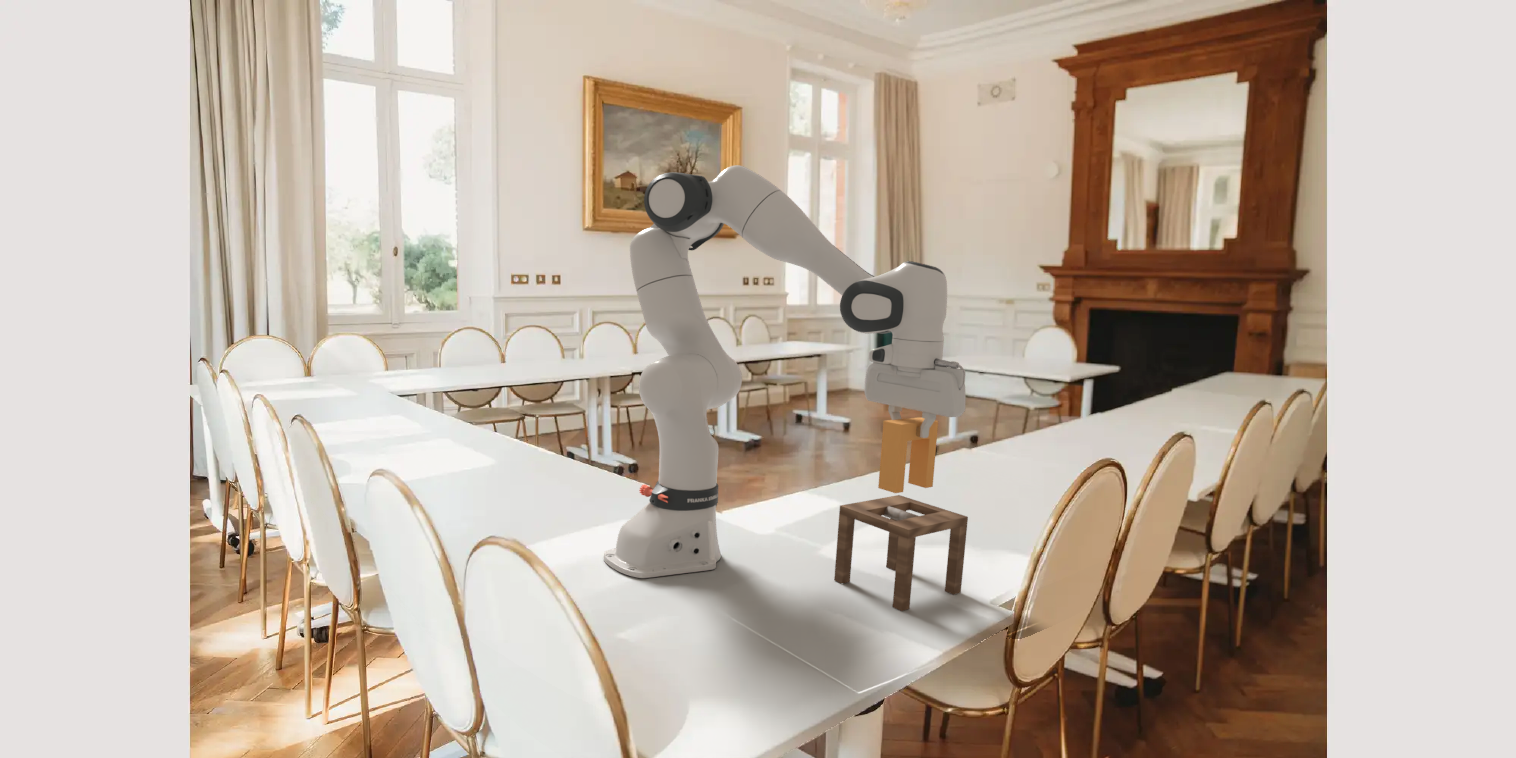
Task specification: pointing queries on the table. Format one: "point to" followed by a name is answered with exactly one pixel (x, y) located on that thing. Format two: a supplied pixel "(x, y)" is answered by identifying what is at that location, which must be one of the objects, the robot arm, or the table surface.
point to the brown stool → (902, 540)
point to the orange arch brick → (896, 450)
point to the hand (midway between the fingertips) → (910, 434)
